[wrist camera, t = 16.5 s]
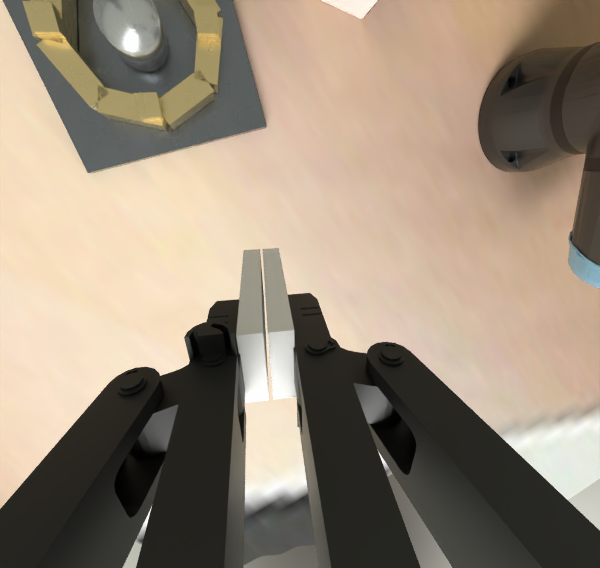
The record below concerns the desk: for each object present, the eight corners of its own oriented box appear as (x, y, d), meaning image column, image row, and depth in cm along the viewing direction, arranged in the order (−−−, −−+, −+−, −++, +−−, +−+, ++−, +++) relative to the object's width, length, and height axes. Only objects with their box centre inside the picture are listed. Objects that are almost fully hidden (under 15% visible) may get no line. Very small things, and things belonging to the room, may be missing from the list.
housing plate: (203, -100, 29) (199, -168, 23) (265, 127, 36) (273, 117, 30) (-26, -68, 26) (-93, -137, 20) (91, 173, 33) (66, 170, 28)
